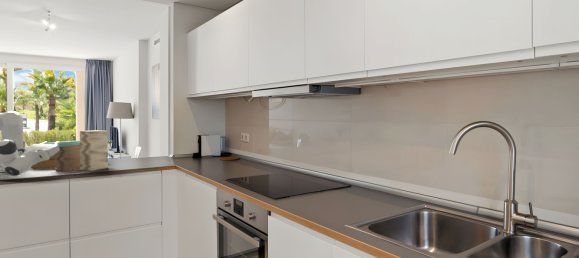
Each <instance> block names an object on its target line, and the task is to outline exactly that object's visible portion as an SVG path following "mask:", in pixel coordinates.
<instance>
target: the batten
mask: <svg viewBox="0 0 579 258" xmlns="http://www.w3.org/2000/svg"><path fill="white" fill-rule="evenodd" d="M56 142H57V141H55V142H48V143H45V144H48V145H54V144H55V143H56ZM59 142H60V144H59V145H58V146H59V147H65V146H76V145H80V140H68V141H59Z"/></svg>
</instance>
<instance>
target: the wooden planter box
mask: <svg viewBox="0 0 579 258" xmlns="http://www.w3.org/2000/svg"><path fill="white" fill-rule="evenodd" d="M47 168H48V169H56V157H55V154H54V155H53V156H51V157H50V159H48V160H45V161H41V162H38V163H36V164H34V165H32V167H31V168H30V169H35V170H39V169H40V170H42V169H47ZM48 169H47V170H48Z"/></svg>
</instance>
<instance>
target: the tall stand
mask: <svg viewBox="0 0 579 258" xmlns="http://www.w3.org/2000/svg"><path fill="white" fill-rule="evenodd" d="M79 141H80V169H79V170H80V171H97V170H103V169H108V167H109V164H108V163H109V159H108V158H109V157H108V155H109V153H108V149H109V148H108V130H104V129H103V130H102V129H101V130H100V129H99V130H97V129H95V130H94V129H93V130H80V131H79Z"/></svg>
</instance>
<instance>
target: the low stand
mask: <svg viewBox="0 0 579 258" xmlns="http://www.w3.org/2000/svg"><path fill="white" fill-rule="evenodd" d="M59 148H60V150H59V151H58V152H57V153H56V154H55V157H56V168H55V171H56V172H70V171H76V170H80V145H76V146H65V147H59Z"/></svg>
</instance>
